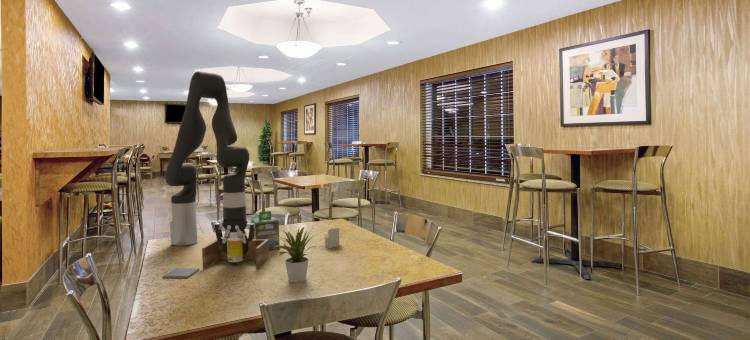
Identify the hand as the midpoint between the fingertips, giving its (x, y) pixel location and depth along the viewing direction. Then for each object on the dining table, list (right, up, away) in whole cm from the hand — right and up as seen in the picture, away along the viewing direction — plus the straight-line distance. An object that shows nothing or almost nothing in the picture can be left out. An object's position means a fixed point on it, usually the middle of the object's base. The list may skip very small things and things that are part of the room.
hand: (235, 253), depth 149 cm
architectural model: (+31, -2, +23) cm, 39 cm away
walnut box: (0, -4, 0) cm, 4 cm away
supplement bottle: (0, -3, 0) cm, 3 cm away
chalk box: (+5, -2, +21) cm, 22 cm away
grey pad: (-14, -5, -10) cm, 18 cm away
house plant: (+24, -5, -16) cm, 29 cm away
